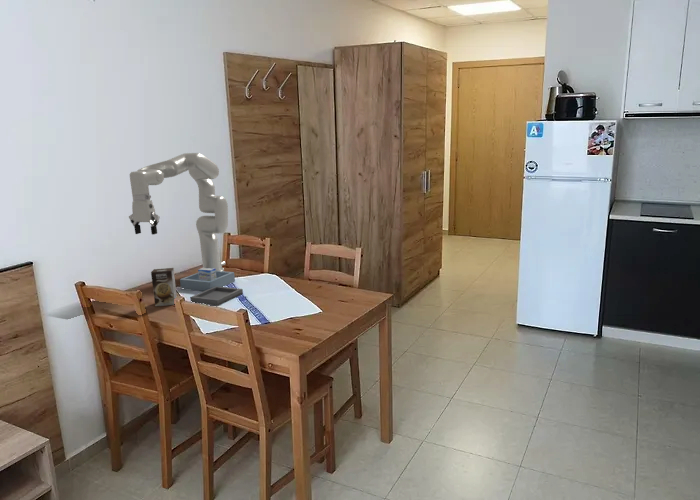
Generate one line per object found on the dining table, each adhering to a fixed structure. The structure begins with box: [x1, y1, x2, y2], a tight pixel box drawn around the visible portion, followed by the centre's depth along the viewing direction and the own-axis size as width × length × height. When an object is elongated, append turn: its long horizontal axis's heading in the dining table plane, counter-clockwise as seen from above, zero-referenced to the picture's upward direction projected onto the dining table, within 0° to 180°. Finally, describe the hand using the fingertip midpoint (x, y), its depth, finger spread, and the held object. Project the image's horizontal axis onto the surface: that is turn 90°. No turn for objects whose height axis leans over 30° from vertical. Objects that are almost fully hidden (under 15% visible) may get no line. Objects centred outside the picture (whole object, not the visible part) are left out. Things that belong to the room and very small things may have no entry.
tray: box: [189, 286, 244, 307], centre depth 251 cm, size 18×16×2 cm
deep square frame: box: [179, 270, 236, 292], centre depth 273 cm, size 19×19×5 cm
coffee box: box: [150, 267, 178, 307], centre depth 245 cm, size 9×6×16 cm
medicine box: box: [197, 267, 216, 281], centre depth 272 cm, size 8×4×9 cm, turn 68°
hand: (146, 233), depth 254 cm, fingers open, 9 cm apart
